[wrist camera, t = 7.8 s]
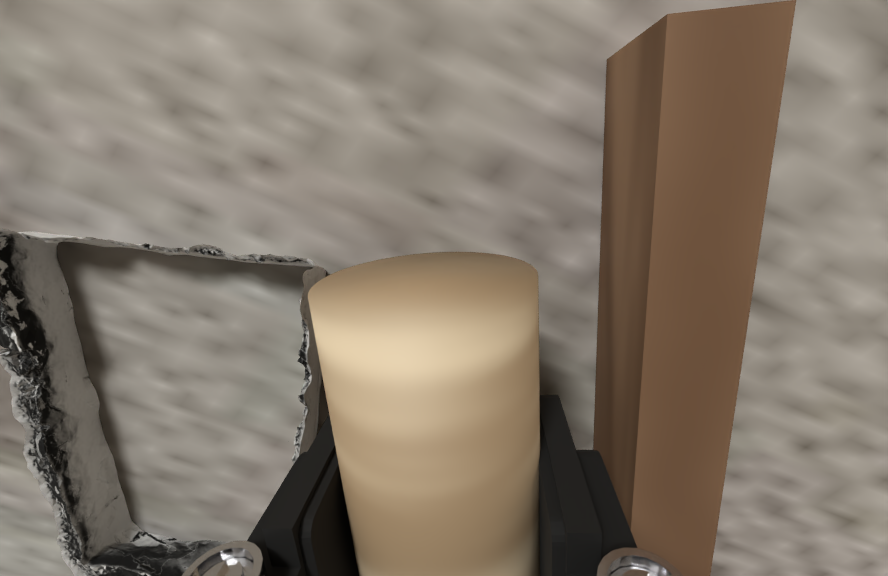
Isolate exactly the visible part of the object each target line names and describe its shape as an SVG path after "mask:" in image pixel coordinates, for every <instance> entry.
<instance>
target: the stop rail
mask: <svg viewBox="0 0 888 576" xmlns="http://www.w3.org/2000/svg"><path fill="white" fill-rule="evenodd" d="M795 5H796V0H792V1H783V2H774V3H764V4H755V5H746V6H737V7H728V8H719V9H710V10H701V11H692V12H682V13H673V14H667V15H666V16H664V17H663V18H662V19H660V20H659V21H658V22H656V23H655V24H654V25H652V26H651V27H650V28H648V29H647V30H646V31H644V32H643V33H642V34H640V35H639V36H638V37H636V38H635V39H634V40H632V41H631V42H630V43H628V44H627V45H626V46H624V47H623V48H622V49H620V50H619V51H618V52H616V53H615V54H614V55H612V56H611V57H610V58H608V59H607V70H606V99H605V128H604V156H603V185H602V214H601V243H600V272H599V301H598V330H597V359H596V388H595V417H594V445H593V450H598V451H599V453H600V455H601V457H602V459H603V462H604V464H605V467H606V469H607V472H608V474H609V477H610V479H611V482H612V484H613V487H614V489H615V492H616V495H617V497H618V500H619V502H620V505H621V507H622V510H623V512H624V515H625V517H626V520H627V522H628V525H629V528H630V530H631V533H632V535H633V538H634V540H635V543H636V545H637V548H639V549H642V550H646V551H649V552H652V553H654V554H656V555H658V556H660V557H662V558H664V559H665V560H667V561H668V562H669V563H670V564H672V565H673V566H674V567H675V568H677V569H678V570H679V571H680V573H681V574H682V575H683V576H710V573H711V566H712V559H713V553H714V546H715V539H716V532H717V526H718V519H719V512H720V506H721V499H722V492H723V486H724V479H725V472H726V466H727V459H728V452H729V446H730V439H731V432H732V426H733V419H734V412H735V406H736V399H737V392H738V385H739V379H740V372H741V365H742V359H743V352H744V345H745V339H746V332H747V325H748V319H749V312H750V305H751V299H752V292H753V285H754V279H755V272H756V265H757V259H758V252H759V245H760V238H761V232H762V225H763V218H764V212H765V205H766V198H767V192H768V185H769V178H770V172H771V165H772V158H773V152H774V145H775V138H776V132H777V125H778V118H779V112H780V105H781V98H782V92H783V85H784V78H785V71H786V65H787V58H788V51H789V45H790V38H791V31H792V25H793V18H794V11H795Z"/></svg>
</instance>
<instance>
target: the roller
mask: <svg viewBox="0 0 888 576" xmlns="http://www.w3.org/2000/svg"><path fill="white" fill-rule="evenodd" d="M308 301H309V306H310V312H311V317H312V323H313V328H314V333H315V339H316V344H317V350H318V355H319V361H320V366H321V371H322V377H323V382H324V388H325V393H326V399H327V404H328V409H329V415H330V420H331V426H332V431H333V436H334V442H335V447H336V453H337V458H338V464H339V469H340V474H341V480H342V485H343V491H344V496H345V502H346V507H347V512H348V518H349V523H350V529H351V534H352V540H353V545H354V550H355V556H356V561H357V567H358V572H359V576H540V519H539V456H540V401H539V306H538V273H537V271H536V269H535V268H534V267H533V266H531V265H530V264H528V263H526V262H524V261H522V260H519V259H516V258H512V257H508V256H502V255H496V254H489V253H476V252H438V253H423V254H413V255H405V256H398V257H392V258H386V259H381V260H376V261H371V262H367V263H363V264H359V265H356V266H352V267H349V268H346V269H343V270H341V271H338V272H335V273H333V274H331V275H329V276H327V277H325V278H323V279H321V280H320V281H318V282H317V283H316V284H315V285H313V286H312V287H311V289H310V290H309V292H308Z"/></svg>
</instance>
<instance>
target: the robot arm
mask: <svg viewBox="0 0 888 576" xmlns="http://www.w3.org/2000/svg"><path fill="white" fill-rule="evenodd" d="M539 401H540V456H539V519H540V576H683V575H682V574H681V573H680V571H679V570H678V569H677V568H675V567H674V566H673V565H672V564H670V563H669V562H668V561H667V560H665V559H664V558H662V557H660V556H658V555H656V554H654V553H652V552H649V551H646V550H642V549H639V548H637V545H636V543H635V540H634V538H633V535H632V533H631V530H630V528H629V525H628V522H627V520H626V517H625V515H624V512H623V510H622V507H621V505H620V502H619V500H618V497H617V495H616V492H615V489H614V487H613V484H612V482H611V479H610V477H609V474H608V472H607V469H606V467H605V464H604V462H603V459H602V457H601V455H600V453H599V451H598V450H576V449H575V446H574V443H573V440H572V436H571V433H570V430H569V427H568V424H567V421H566V417H565V414H564V411H563V408H562V405H561V402H560V398H559V396H558V395H539ZM182 576H359V572H358V567H357V561H356V556H355V550H354V545H353V540H352V534H351V529H350V523H349V518H348V512H347V507H346V502H345V496H344V491H343V485H342V480H341V474H340V469H339V464H338V458H337V453H336V447H335V442H334V436H333V431H332V426H331V420H330V415H329V416H328V417H327V419H326V421H325V422H324V424H323V426H322V428H321V429H320V431H319V433H318V434H317V436H316V438H315V439H314V441H313V443H312V444H311V446H310V448H309V450H308V451H307V452H303V453H301V454H300V456H299V457H298V458H297V460H296V461H295V463H294V465H293V466H292V468H291V470H290V471H289V473H288V475H287V476H286V478H285V479H284V481H283V483H282V484H281V486H280V488H279V489H278V491H277V493H276V494H275V496H274V497H273V499H272V501H271V502H270V504H269V506H268V507H267V509H266V511H265V512H264V514H263V516H262V517H261V519H260V520H259V522H258V524H257V525H256V527H255V529H254V530H253V532H252V534H251V535H250V537H249V539H248V540H247V541H232V542H229V543H225V544H222V545H219V546H217V547H215V548H213V549H211V550H209V551H208V552H206V553H205V554H203V555H202V556H201V557H199V558H198V559H196V560H195V561H194V562H193V563H192V564H191V565H190V566H189V567H188V568H187V569H186V571H185V572H184V574H183V575H182Z"/></svg>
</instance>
